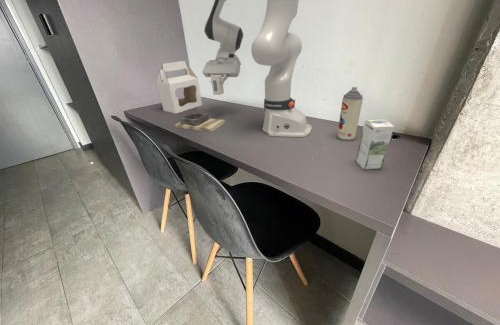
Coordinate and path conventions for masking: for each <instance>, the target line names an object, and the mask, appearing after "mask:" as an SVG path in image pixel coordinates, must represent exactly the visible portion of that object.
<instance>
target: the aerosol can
mask: <svg viewBox="0 0 500 325" xmlns="http://www.w3.org/2000/svg"><path fill="white" fill-rule="evenodd" d="M363 98H364V96H363V94H362V93H361V92H359V91H358V87H357V86H352V87H351V89H350V90H348V91H347V92H346V94H343V97H342V102H341V108H340V114H339V121H338V129H337V135H336V136H337V137H336V138H337V139H338V140H339V141H343V142H351V141H352V142H353V141H354V140H355V139H356V136H357V130H358V125H359V120H360V119H359V118H360V114H361V110H362V106H363V105H362V104H363Z"/></svg>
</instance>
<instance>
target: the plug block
mask: <svg viewBox="0 0 500 325" xmlns="http://www.w3.org/2000/svg"><path fill="white" fill-rule="evenodd" d="M222 78H223V77H222V75H213V76H211V77H210V82H211V81H212V83H211V87H212V95H215V96H221V95H223V94H224V93H225V91H224V84H221V83H220V79H222Z"/></svg>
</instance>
